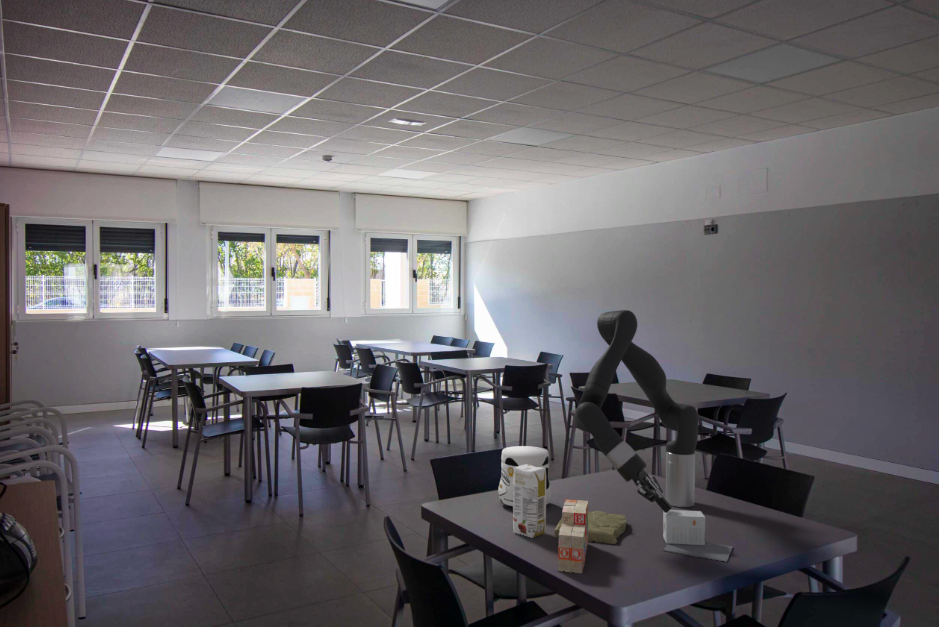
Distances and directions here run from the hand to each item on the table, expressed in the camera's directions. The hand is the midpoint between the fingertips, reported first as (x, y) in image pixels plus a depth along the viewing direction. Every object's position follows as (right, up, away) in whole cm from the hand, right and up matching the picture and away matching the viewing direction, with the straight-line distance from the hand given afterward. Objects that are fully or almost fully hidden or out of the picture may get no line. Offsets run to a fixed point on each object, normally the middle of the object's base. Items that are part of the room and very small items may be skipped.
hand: (669, 510), depth 185 cm
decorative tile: (-19, -10, +12) cm, 24 cm away
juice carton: (-38, -9, +8) cm, 40 cm away
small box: (-1, -5, +2) cm, 6 cm away
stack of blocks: (-28, -10, -10) cm, 31 cm away
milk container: (-37, -9, +35) cm, 52 cm away
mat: (+7, -9, -4) cm, 12 cm away
